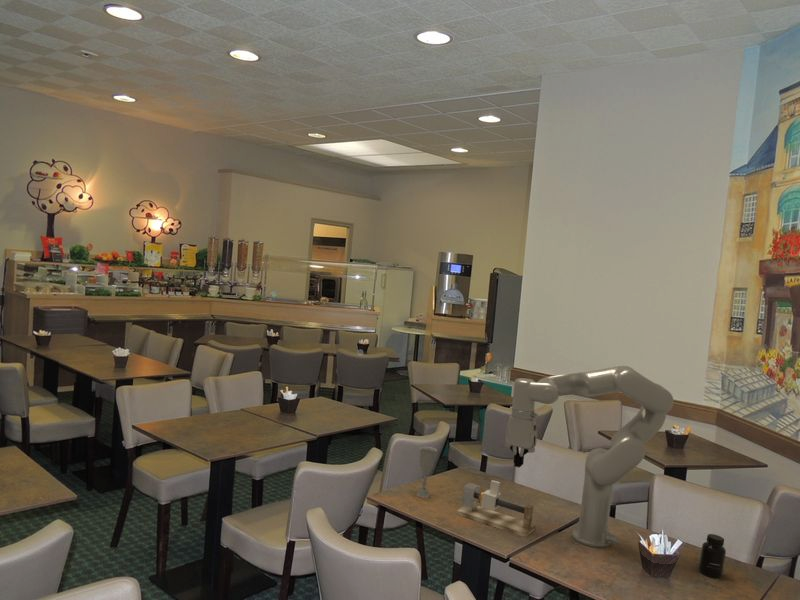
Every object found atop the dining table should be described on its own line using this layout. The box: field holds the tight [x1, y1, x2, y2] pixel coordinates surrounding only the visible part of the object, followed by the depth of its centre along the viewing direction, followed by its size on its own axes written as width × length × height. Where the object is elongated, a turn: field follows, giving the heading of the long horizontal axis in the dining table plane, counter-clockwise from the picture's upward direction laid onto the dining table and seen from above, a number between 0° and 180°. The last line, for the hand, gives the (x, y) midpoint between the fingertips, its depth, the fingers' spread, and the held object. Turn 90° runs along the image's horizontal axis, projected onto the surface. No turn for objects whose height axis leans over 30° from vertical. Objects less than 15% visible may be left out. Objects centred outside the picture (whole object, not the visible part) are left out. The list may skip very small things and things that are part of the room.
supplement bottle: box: [698, 533, 727, 579], centre depth 201 cm, size 7×7×12 cm
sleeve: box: [480, 479, 502, 511], centre depth 226 cm, size 5×5×10 cm
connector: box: [460, 482, 486, 512], centre depth 229 cm, size 7×5×8 cm
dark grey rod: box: [475, 492, 525, 514], centre depth 225 cm, size 21×2×2 cm, turn 58°
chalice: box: [416, 445, 438, 499], centre depth 242 cm, size 7×7×18 cm
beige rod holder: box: [456, 504, 537, 538], centre depth 225 cm, size 26×10×9 cm, turn 58°
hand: (518, 466), depth 221 cm, fingers closed
